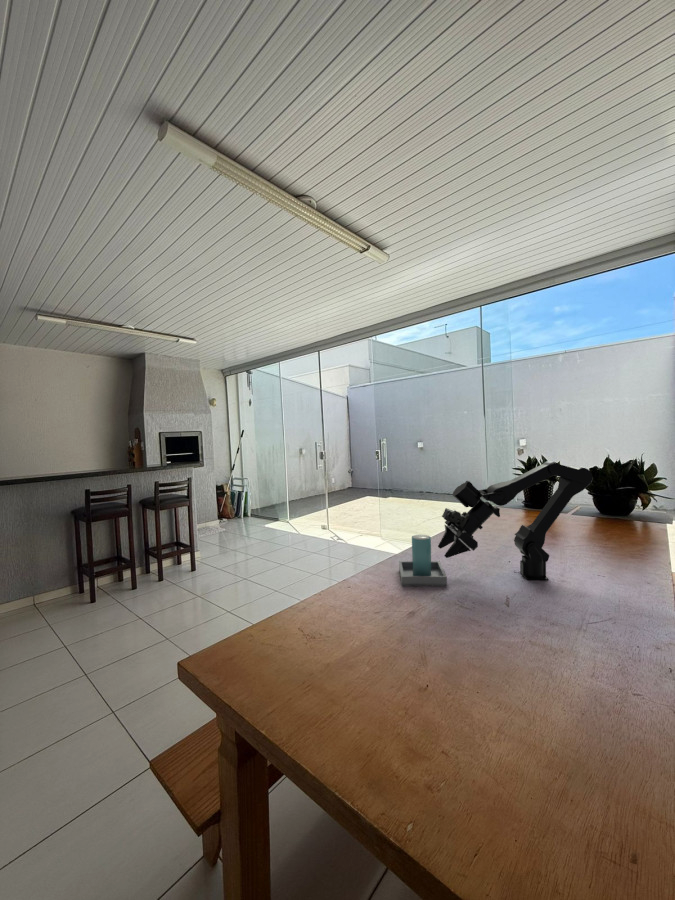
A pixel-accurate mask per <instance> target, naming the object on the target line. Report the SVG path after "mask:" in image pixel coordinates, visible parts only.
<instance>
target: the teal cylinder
mask: <svg viewBox="0 0 675 900" xmlns="http://www.w3.org/2000/svg"><path fill="white" fill-rule="evenodd" d="M411 561H412V568H413V576H432V570H431V561H432V538H431V536H430V535H426V534H414V535H412V536H411Z"/></svg>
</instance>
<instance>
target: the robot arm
mask: <svg viewBox="0 0 675 900" xmlns="http://www.w3.org/2000/svg"><path fill="white" fill-rule="evenodd" d="M552 476H555V477H559V479H558V485H557V489H556V490H555V491H554V493H553V494H552V495H551V497H550V498H549V500H548V501H547V502H546V504H545V505H544V506H543V507H542V509H541V511H540V512H539V514H538V515H537V516H536V517H535V519H534V520H533V522H531V523H530V524H529V525H528V526H525V525H524V524H521V526H519V529H518V530H517V532H516V533H514V536H515V537H514V538H513V542H514V546H515V547H516V548H517V549H518V550H519V552H520V553H521V554H522V555H521V560H520V561H519V567H520V568H519V573H520V574H521V575H522V576H523V577H524V579H526V580H528V581H532V580H533V581H536V580H537V581H548V580H549V577H548V576H547V562H548V561H549V558H550V554H549V553H548V552H547V551H546V550H545V549H543V547H544V544H545V542H546V535H547V532H548V531H549V530H550V528H551V527H552V525H554V523H555V521H556V520H557V519H558V517H559V516H560V515H561V513H562V512H563V511H564V509H565V508H566V506H567V505H568V504H569V503H570V501H571V500H572V499H573V497H575V496H576V495H578V494H579V493H581V492H583V491H584V490H586V488H587V487H588V486H590V484H591V483H592V482H593V479H594V477H593V473H592V472H591V470H590V469H589V468H587V467H581V466H575V465H570V466H567V465H564V464H561V463H558V462H555V461H549V460H547V461H544V462H543V463H542V464H540V465H538V466H536V467H534V468H532V469H529V471H526V472H524V473H522V474H521V475H518V476H516V477H514V478H513V479H511V480H507V481H501V482H498V483H494V484H491V485H489V486H488V487H486V488H485V489H484V488H483V489H477V487H475V486H474V485H473V483H472V482H471V481H469V480H466V481H465V482H463V483H461V484H460V485H459V486H458V485H457V487H455V489H454V490H453V492H452V497H454V498H455V499H456V500H457V501H458V502H459V503H460V504H462V505H463V506H464V508H470V509H469V511H467V512H466V511H464V512H462V513H461V512H460V511H457V510H452V509H450V508H445V509H444V511H443V513H442V515H441V517H442V518H443V520H444V531H445V532H444V533H443V535H442V537H441V539H440V541H439V543H438V545H437V547H438V549H443V548H445V547H447V546H448V545H450V544H451V543H452V544H451V545H450V546H449V548H448V549H447V550H446V552H445V554H444V558H446V559H448V558H452V557H453V556H458V555H460V554H463V553H467V552H471V551H472V552H474V551H475V550H476V549H477V548H478V546H479V544H478V541H477V540H476V539H475V538H474V534H475V532H476V531H477V530H478V529H479V530H482V529H483V526H482V525H484V523H485V522H487V520H488V519H490V517H491V516H492V515H493V516H496V517H497V518H500V517H501V513H500V510H501V509H500V508H499V507H500V506H501V507H503V506H506V505H507V504H508V503H510V502H511V501H513V500H514V499H515V498H516V497H517V496H518V495H519V494H520V493H521V492H523V491H525V490H527V489H529V488H530V487H533V486H534V485H537V484H538V483H540V482H543V481H544V480H547V479H548V478H550V477H552ZM483 499H484V500H485V501H484V500H483ZM492 503H493V504H492ZM494 505H496V506H494ZM498 506H499V507H498Z"/></svg>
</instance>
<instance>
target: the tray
mask: <svg viewBox="0 0 675 900" xmlns="http://www.w3.org/2000/svg"><path fill="white" fill-rule="evenodd" d="M398 565H399V566H398V569H399V575H400V576H399V577H400V582H401V583H400V584H401V587H440V586H447V587H448V578H447V577H448V576H447V574H446V573H445V570H444V568H443V566H442V563H441V562H440V560H439V561H438V560H437V561H436V560H431V570H432V576H413V568H412V560H407V561H406V560H405V561H402V560H401V561H400V560H399V561H398Z"/></svg>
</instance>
